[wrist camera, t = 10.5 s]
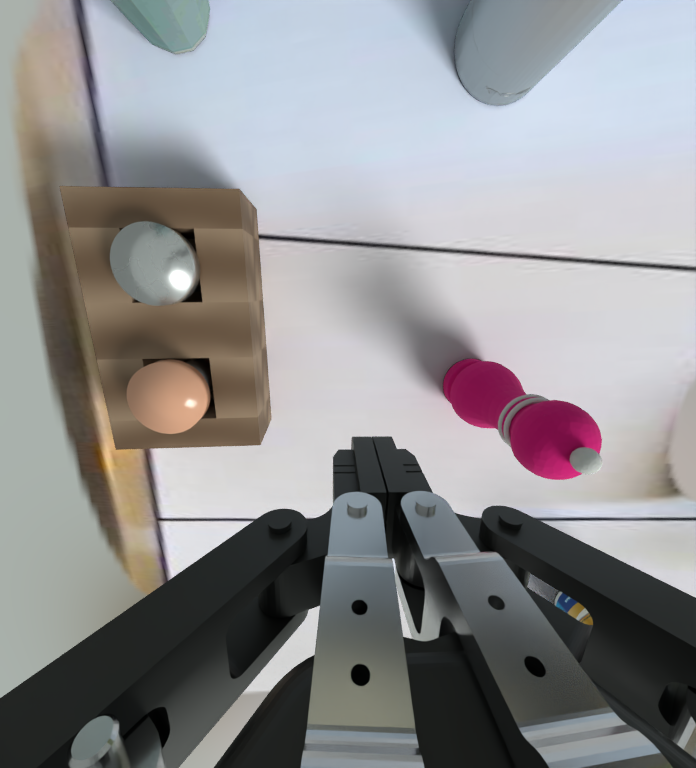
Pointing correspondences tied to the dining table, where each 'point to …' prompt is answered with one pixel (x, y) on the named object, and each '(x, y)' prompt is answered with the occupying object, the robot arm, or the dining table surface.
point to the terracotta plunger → (170, 394)
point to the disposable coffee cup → (168, 21)
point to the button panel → (178, 308)
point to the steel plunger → (155, 264)
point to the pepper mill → (525, 420)
